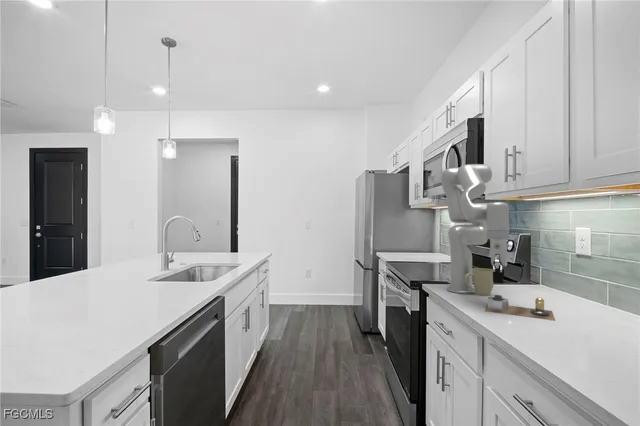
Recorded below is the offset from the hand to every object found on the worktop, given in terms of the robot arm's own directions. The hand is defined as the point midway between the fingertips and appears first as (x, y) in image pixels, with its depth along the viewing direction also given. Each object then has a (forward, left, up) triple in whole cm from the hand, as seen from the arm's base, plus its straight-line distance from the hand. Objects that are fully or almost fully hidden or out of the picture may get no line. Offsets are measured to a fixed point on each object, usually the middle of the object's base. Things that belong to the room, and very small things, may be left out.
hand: (498, 281), depth 121 cm
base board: (+4, +5, -12) cm, 13 cm away
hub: (+9, +9, -10) cm, 16 cm away
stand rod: (-1, 0, -10) cm, 10 cm away
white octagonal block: (-1, 0, -10) cm, 10 cm away
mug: (-21, +10, -12) cm, 26 cm away
